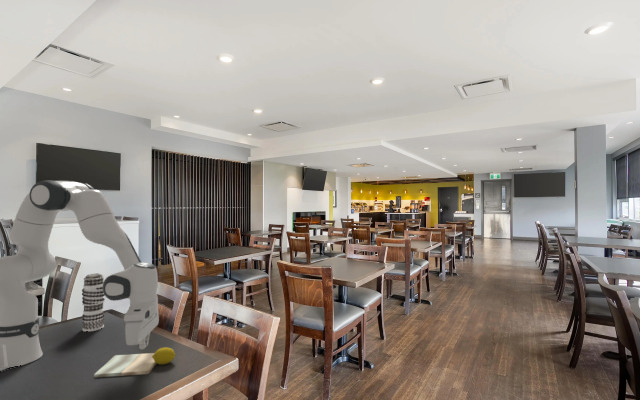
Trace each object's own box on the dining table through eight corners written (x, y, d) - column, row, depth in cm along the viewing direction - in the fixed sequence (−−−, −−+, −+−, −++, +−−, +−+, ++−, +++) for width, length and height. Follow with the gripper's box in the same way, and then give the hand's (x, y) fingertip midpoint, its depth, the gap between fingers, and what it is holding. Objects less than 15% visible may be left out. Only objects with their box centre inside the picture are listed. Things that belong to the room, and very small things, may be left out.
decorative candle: (103, 323, 159) (104, 271, 160) (106, 328, 152) (106, 274, 153) (80, 327, 154) (81, 274, 154) (82, 333, 146) (82, 277, 147)
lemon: (148, 365, 114) (172, 363, 115) (150, 347, 116) (174, 346, 117) (153, 365, 119) (176, 363, 120) (155, 348, 121) (178, 347, 122)
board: (94, 377, 108) (94, 374, 109) (115, 358, 122) (115, 355, 122) (148, 373, 111) (148, 370, 111) (162, 355, 125) (162, 352, 125)
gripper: (146, 300, 127) (146, 336, 127) (121, 318, 107) (121, 360, 107) (163, 299, 128) (163, 335, 128) (141, 317, 108) (141, 359, 108)
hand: (143, 347), depth 117 cm, fingers closed
